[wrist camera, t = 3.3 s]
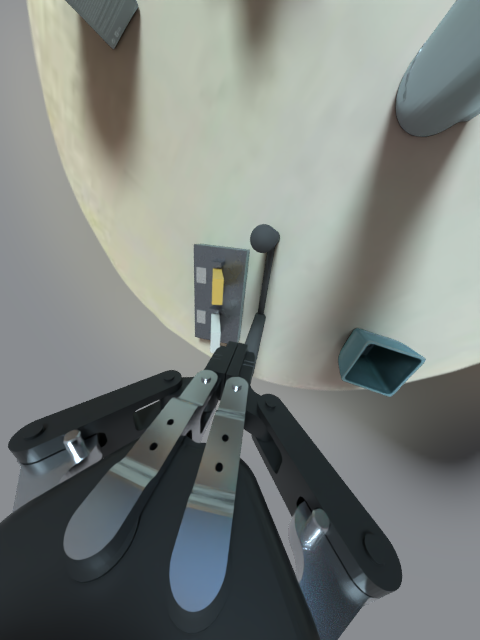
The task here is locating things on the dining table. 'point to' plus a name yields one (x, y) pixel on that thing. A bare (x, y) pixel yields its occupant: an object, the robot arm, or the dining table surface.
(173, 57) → the dining table surface
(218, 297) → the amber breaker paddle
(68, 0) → the skincare box
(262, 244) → the cable posts
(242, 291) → the strip
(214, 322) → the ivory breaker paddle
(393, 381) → the flower pot
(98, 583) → the robot arm
